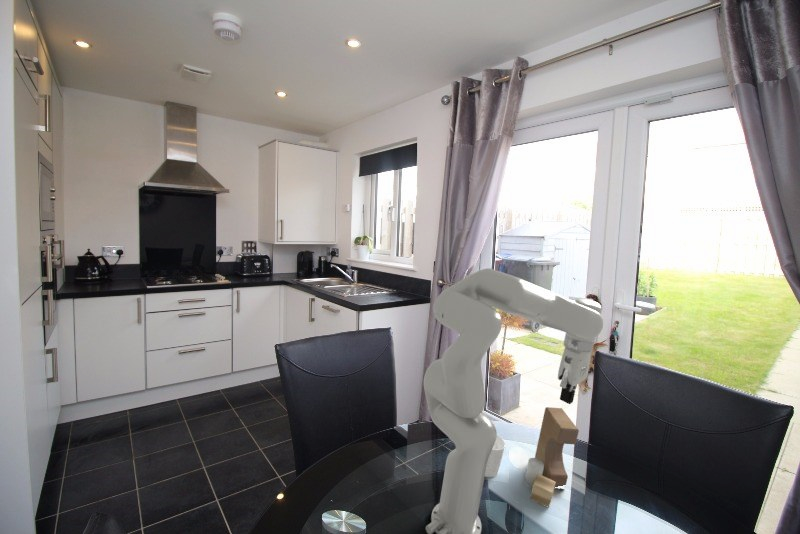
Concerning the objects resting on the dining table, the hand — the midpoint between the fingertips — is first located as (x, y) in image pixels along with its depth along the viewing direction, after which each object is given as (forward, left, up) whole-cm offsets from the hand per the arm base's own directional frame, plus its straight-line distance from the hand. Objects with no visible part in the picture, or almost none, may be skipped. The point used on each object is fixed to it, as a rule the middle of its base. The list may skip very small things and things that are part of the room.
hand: (566, 401), depth 114 cm
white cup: (-14, +13, -26) cm, 32 cm away
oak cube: (-10, -3, -26) cm, 28 cm away
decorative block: (0, 0, -26) cm, 26 cm away
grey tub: (-6, +2, -25) cm, 26 cm away
